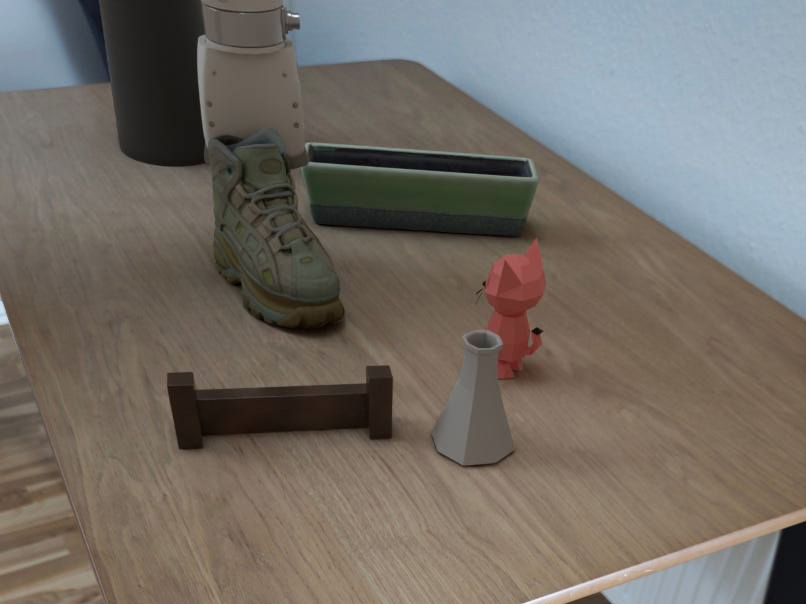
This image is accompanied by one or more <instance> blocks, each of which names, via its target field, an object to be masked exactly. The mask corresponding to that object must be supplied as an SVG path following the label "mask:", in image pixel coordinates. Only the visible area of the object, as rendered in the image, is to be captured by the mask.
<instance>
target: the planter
mask: <svg viewBox="0 0 806 604" xmlns="http://www.w3.org/2000/svg"><path fill="white" fill-rule="evenodd" d="M305 147H306V150H307V154H308V157H309V164H308V165H306V166H303V167H299V169H300V172H301V177H302V181H303V185H304V189H305V193H306V197H307V201H308V205H309V209H310V212H311V216H312V219H313V222H314V223H315V224H319V225H330V226H331V225H332V226H344V227H345V226H348V227H361V228H374V229H375V228H376V229H392V230H393V229H394V230H407V231H425V232H438V233H439V232H441V233H456V234H457V233H458V234H472V235H486V236H487V235H489V236H505V237H506V236H507V237H508V236H509V237H519V236H521V234H522V233H523V230H524V227H525V224H526V221H527V219H528V215H529V213H530V210H531V206H532V204H533V201H534V198H535V195H536V192H537V189H538V185H539V176H538V172H537V168H536V163H535V161H534V160H533V159H531V158H530V157H521V156H520V157H519V156H508V155H496V154H495V155H494V154H482V153H471V152H469V153H468V152H455V151H441V150H428V149H415V148H414V149H413V148H399V147H387V146H386V147H385V146H373V145H372V146H371V145H361V144H360V145H358V144H344V143H342V144H341V143H332V142H331V143H329V142H314V141H313V142H312V141H311V142H305Z"/></svg>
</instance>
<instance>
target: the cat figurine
mask: <svg viewBox="0 0 806 604" xmlns="http://www.w3.org/2000/svg"><path fill="white" fill-rule="evenodd" d="M481 285H482V286H483V287H484V291H485V292H484V293H485V296H486V300H487V303H488V304H489V305H490V306H491V307H492V308H493V309H494V310H493V312H492V314H491V316H490V318H489V321H488V323H487V325H486V328H485V330H488V331H490V332H492V333H495V334H497V335H499V336H500V338H501V340H502V342H503V348H502V350H500V351H499V353H498V363H497V370H498V380H507V379H508V380H509V379H514V377H515V373H514V371H517V372H520V371H522V370H524V366H523V361H522V359H524V358H526V356H530V357H531V356H532V355H534V354H535V353H536V351H537V350H538V349H539V348H540V347H541V346H542V345H543V341H542V336H541V335H542V333H543V332H544V330H543V329H541V328H540V327H538V326H536V327H535V328H533V329H532V330H531V329H530V328H531V327H530V322H529V318H528V313H527V311H528V310H530V309H533V308H535V307H536V306H538V303H539V302H540V301H541V299H542V298H543V296H544V294H545V290H546V287H547V278H546V274H545V271H544V266H543V261H542V256H541V250H540V245H539V241H538V237H535V239H534V240H533V242H532V243H531V244H530V246H529V247H528V248H527V250H526V251H525V253H524V254H516V253H512V254H511V253H510V254H505V255H503V256H502V257H500V258H499V259H497V260H496V261H495V262H493V265H492V267H491V269H490V271H489V273H488V276H487V277H486V280H484V281H482V284H481ZM482 291H483V288H481V289H480V290H478V291H477V292H476V294H475V295H477V294H479V293H480V292H481V293H480V295H479V296H478V298H477V300H476V301H475V304H474V305H475V306H476V305H477V303H478V301H479V300H480V298H481V296H482V294H483V292H482ZM530 336H531V338H532V344H531V346H529V342H530Z"/></svg>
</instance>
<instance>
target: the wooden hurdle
mask: <svg viewBox="0 0 806 604" xmlns="http://www.w3.org/2000/svg"><path fill="white" fill-rule="evenodd" d="M194 375H195V374H194V372H193V371H179V372H178V371H177V372H175V371H174V372H173V371H172V372H167V373H166V388H167V394H168V399H169V404H170V405H169V406H170V411H171V415H172V420H173V426H174V431H175V436H176V441H177V447H178V449H179V450H183V449H184V450H187V449H204V436H212V435H214V436H215V435H232V434H235V435H236V434H254V433H273V432H295V431H314V430H315V431H316V430H317V431H318V430H335V429H337V430H338V429H355V428H356V429H357V428H358V429H359V428H366V430H367V431H366V432H367V435H368V438H369V440H377V439H378V440H379V439H392V438H393V403H394V401H393V399H394V398H393V397H394V396H393V394H394V377H393V376H394V375H393V373H392V370H391V366H390V365H389V364H386V365H385V364H384V365H366V366H365V383H364V382H363V383H340V384H339V383H337V384H314V385H313V384H312V385H310V384H309V385H285V386H262V387H261V386H258V387H257V386H256V387H234V388H210V389H209V388H208V389H205V388H204V389H197V388H196V387H197V386H196V383H195V376H194Z"/></svg>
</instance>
